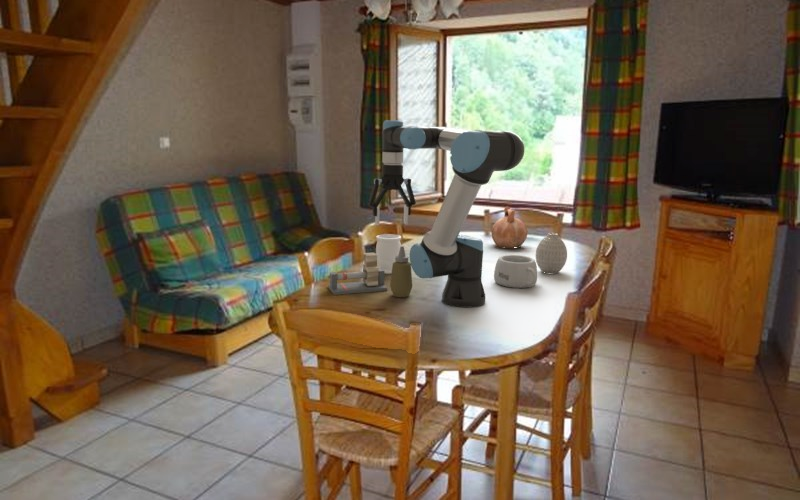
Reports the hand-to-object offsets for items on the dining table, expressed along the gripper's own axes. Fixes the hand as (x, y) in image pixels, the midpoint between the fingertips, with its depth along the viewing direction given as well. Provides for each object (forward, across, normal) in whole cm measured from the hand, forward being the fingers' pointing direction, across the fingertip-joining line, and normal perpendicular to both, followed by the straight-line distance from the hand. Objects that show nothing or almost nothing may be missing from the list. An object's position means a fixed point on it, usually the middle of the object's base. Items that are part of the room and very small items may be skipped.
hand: (391, 224), depth 209 cm
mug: (+24, -49, +11) cm, 55 cm away
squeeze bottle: (+24, 0, +12) cm, 27 cm away
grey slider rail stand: (+24, +13, 0) cm, 27 cm away
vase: (+24, -72, -2) cm, 76 cm away
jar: (+24, -6, -21) cm, 32 cm away
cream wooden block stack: (+22, +8, 0) cm, 23 cm away
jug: (+24, -81, -52) cm, 99 cm away
